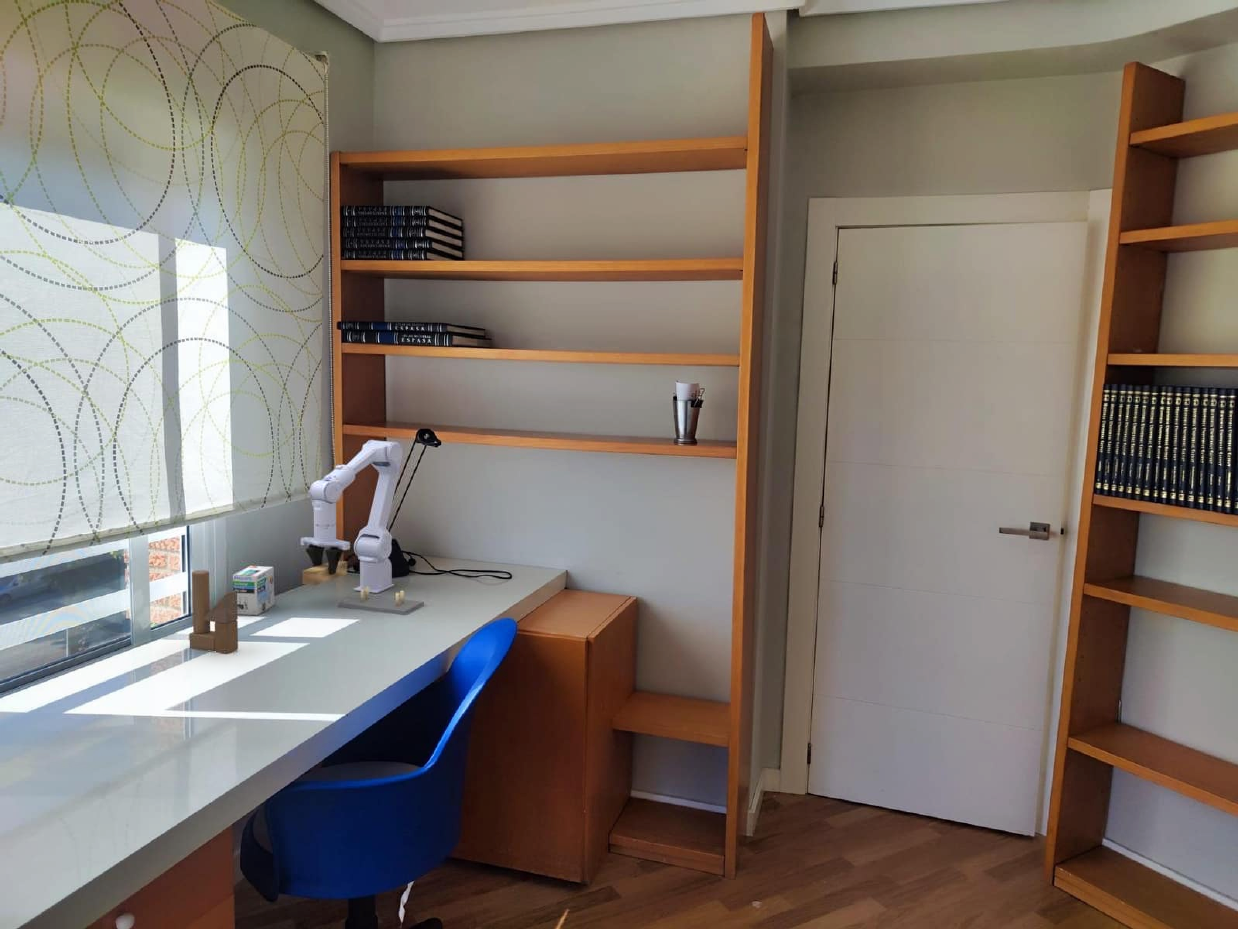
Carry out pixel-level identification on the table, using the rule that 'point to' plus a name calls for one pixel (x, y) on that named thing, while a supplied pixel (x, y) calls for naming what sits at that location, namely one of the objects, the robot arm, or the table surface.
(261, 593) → the light bulb box
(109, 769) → the table surface
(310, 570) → the light wood bar
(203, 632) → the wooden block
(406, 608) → the peg stand
